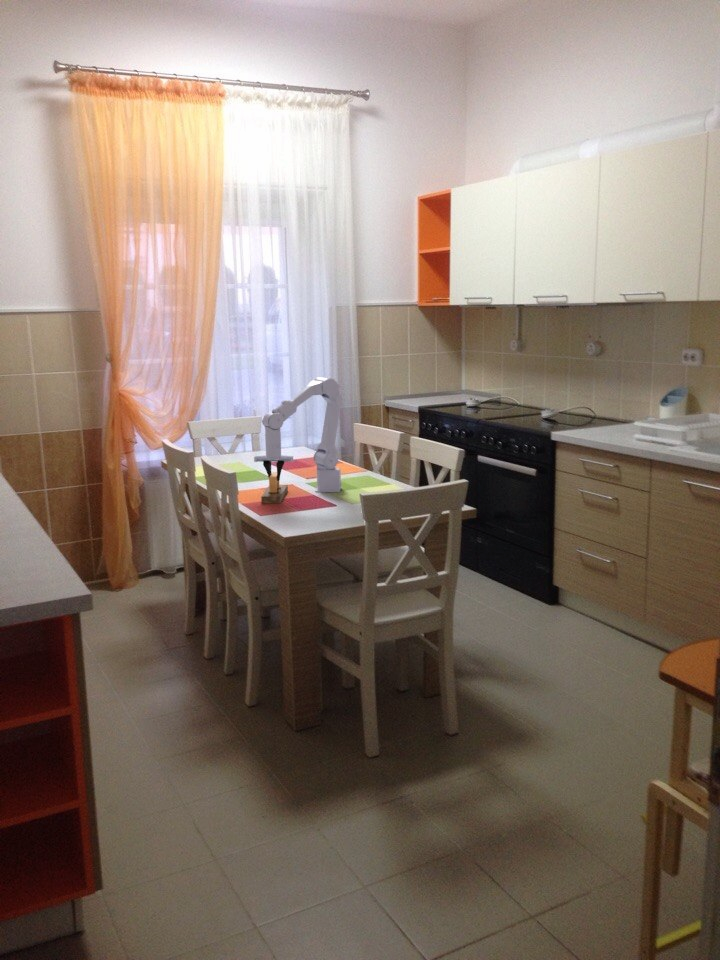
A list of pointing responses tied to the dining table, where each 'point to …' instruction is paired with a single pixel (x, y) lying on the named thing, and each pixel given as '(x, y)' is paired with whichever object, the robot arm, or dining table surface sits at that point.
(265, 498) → the rail
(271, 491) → the tan wooden beam
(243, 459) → the dining table surface
